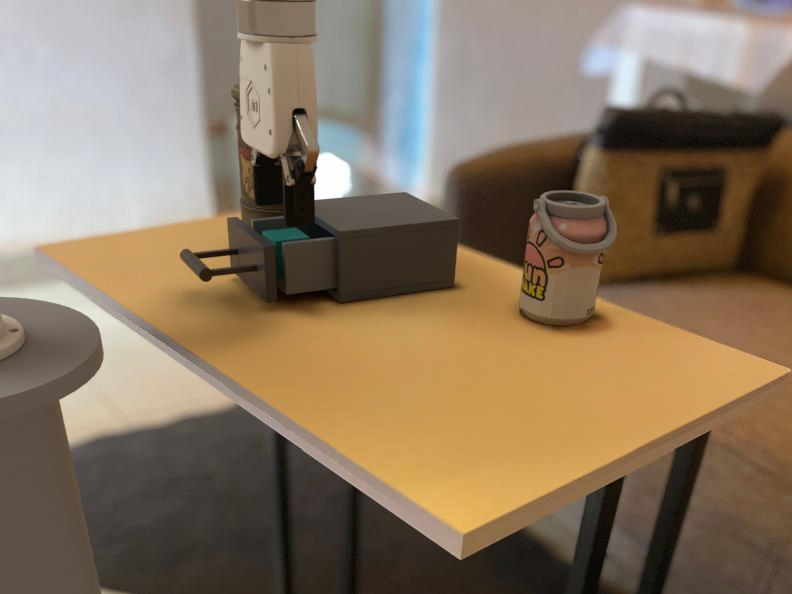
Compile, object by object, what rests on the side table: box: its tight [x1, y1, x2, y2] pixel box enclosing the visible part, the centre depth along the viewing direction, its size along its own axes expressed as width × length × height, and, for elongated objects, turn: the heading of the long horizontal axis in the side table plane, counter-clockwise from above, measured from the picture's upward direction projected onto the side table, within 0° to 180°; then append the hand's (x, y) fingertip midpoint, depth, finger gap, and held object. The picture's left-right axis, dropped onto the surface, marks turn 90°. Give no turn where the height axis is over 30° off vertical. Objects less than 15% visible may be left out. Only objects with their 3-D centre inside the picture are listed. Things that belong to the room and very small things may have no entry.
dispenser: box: [315, 191, 461, 303], centre depth 96 cm, size 15×13×8 cm
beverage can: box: [518, 189, 618, 327], centre depth 87 cm, size 9×8×12 cm
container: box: [230, 83, 297, 227], centre depth 101 cm, size 9×9×18 cm
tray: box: [179, 216, 337, 304], centre depth 91 cm, size 20×11×6 cm, turn 118°
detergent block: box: [262, 228, 310, 278], centre depth 92 cm, size 4×4×4 cm
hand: (283, 213), depth 89 cm, fingers open, 8 cm apart
